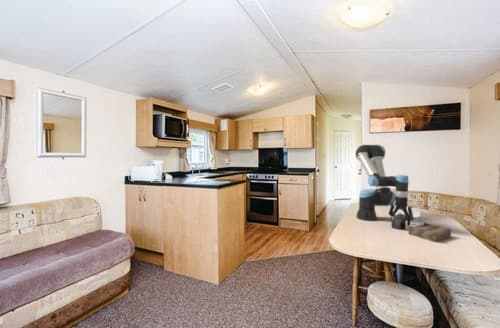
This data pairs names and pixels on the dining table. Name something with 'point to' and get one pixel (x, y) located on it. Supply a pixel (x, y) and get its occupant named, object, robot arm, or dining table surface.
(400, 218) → the camera
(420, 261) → the dining table surface
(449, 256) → the dining table surface
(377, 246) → the dining table surface
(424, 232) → the display plinth
